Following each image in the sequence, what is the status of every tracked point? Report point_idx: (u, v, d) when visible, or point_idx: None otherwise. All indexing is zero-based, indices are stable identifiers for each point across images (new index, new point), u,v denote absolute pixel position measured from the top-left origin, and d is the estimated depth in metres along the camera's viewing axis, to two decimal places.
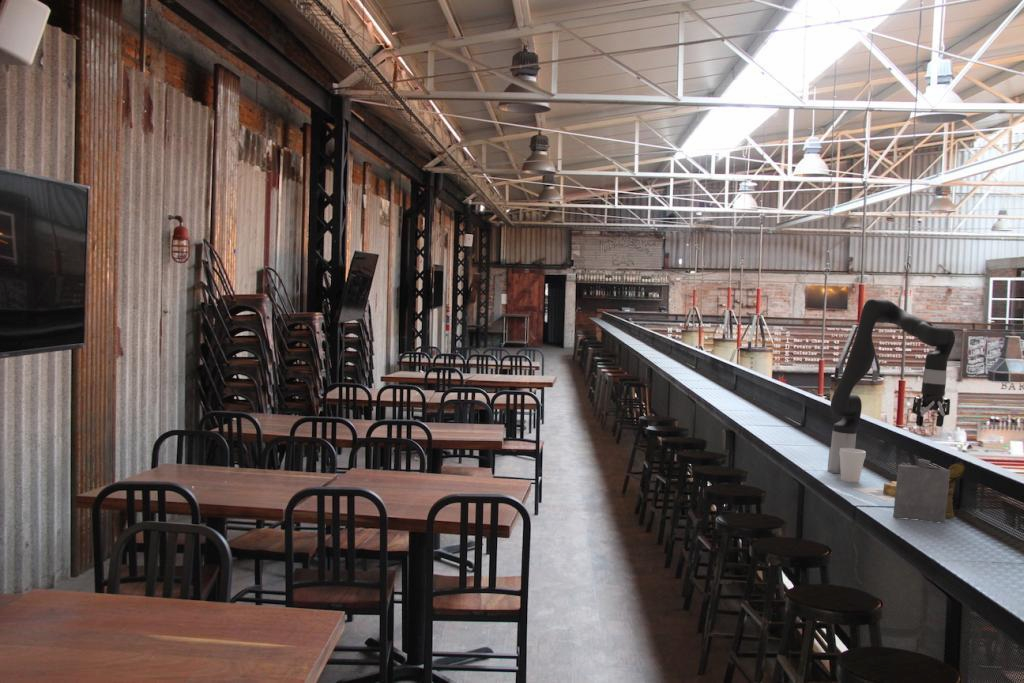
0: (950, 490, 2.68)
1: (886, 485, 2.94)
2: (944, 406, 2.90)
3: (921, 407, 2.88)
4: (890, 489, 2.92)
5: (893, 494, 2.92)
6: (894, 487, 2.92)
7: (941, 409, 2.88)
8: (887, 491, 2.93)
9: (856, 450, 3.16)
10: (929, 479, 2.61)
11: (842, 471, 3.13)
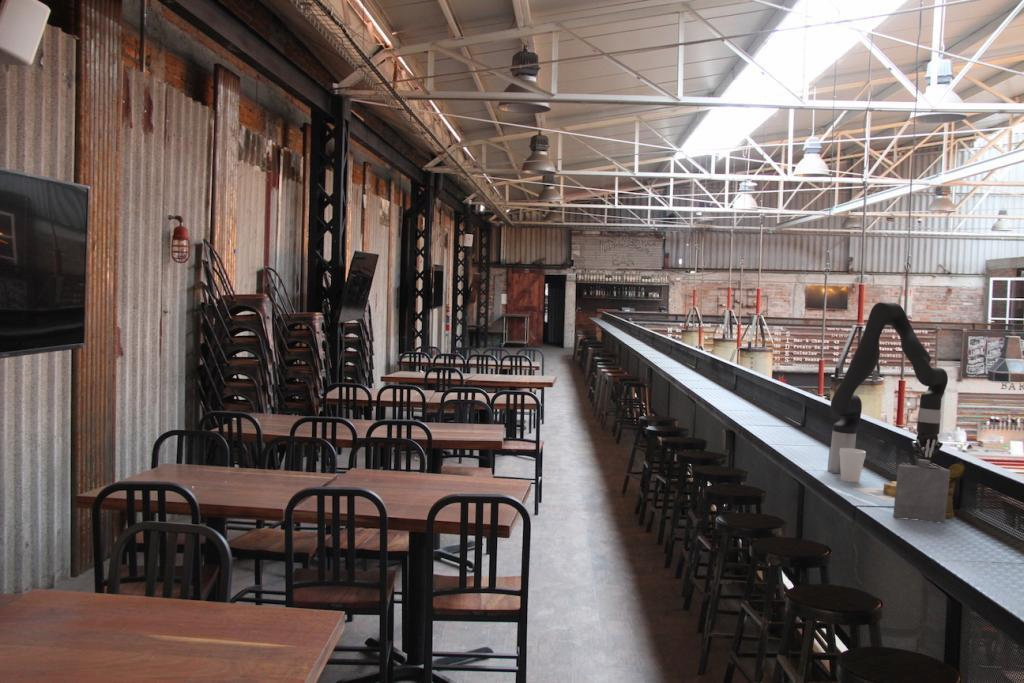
0: (950, 490, 2.68)
1: (886, 485, 2.94)
2: (934, 447, 2.97)
3: (921, 448, 2.96)
4: (890, 489, 2.92)
5: (893, 494, 2.92)
6: (894, 487, 2.92)
7: (931, 448, 2.95)
8: (887, 491, 2.93)
9: (856, 450, 3.16)
10: (929, 479, 2.61)
11: (842, 471, 3.13)
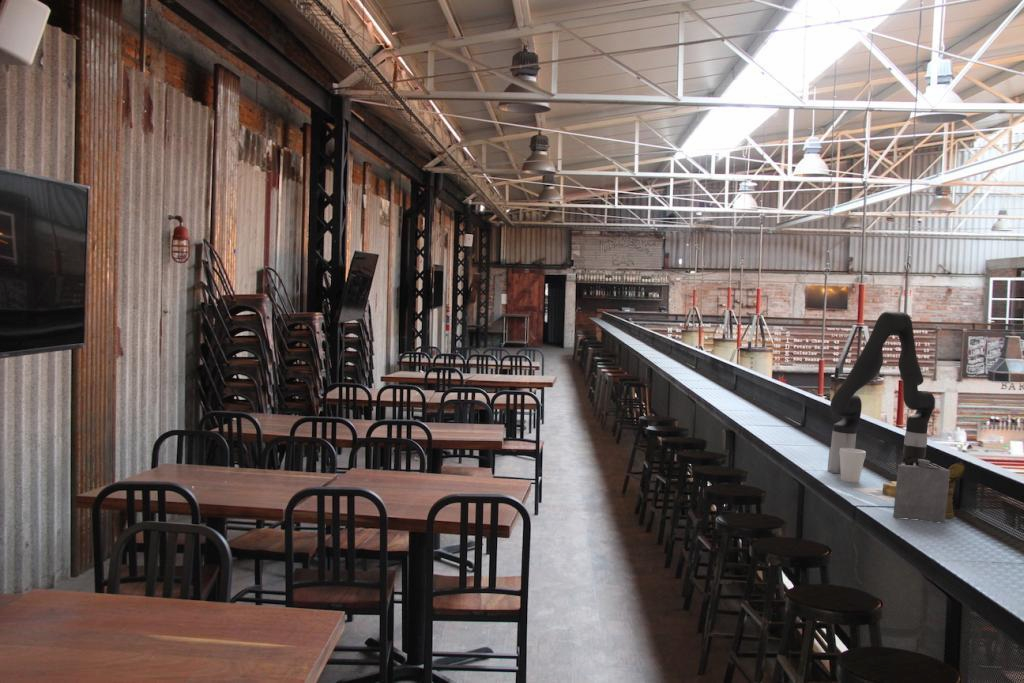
0: (950, 490, 2.68)
1: (885, 485, 2.94)
2: None
3: None
4: (889, 490, 2.92)
5: (892, 494, 2.91)
6: (893, 487, 2.91)
7: None
8: (886, 491, 2.93)
9: (856, 450, 3.16)
10: (929, 479, 2.61)
11: (842, 471, 3.13)
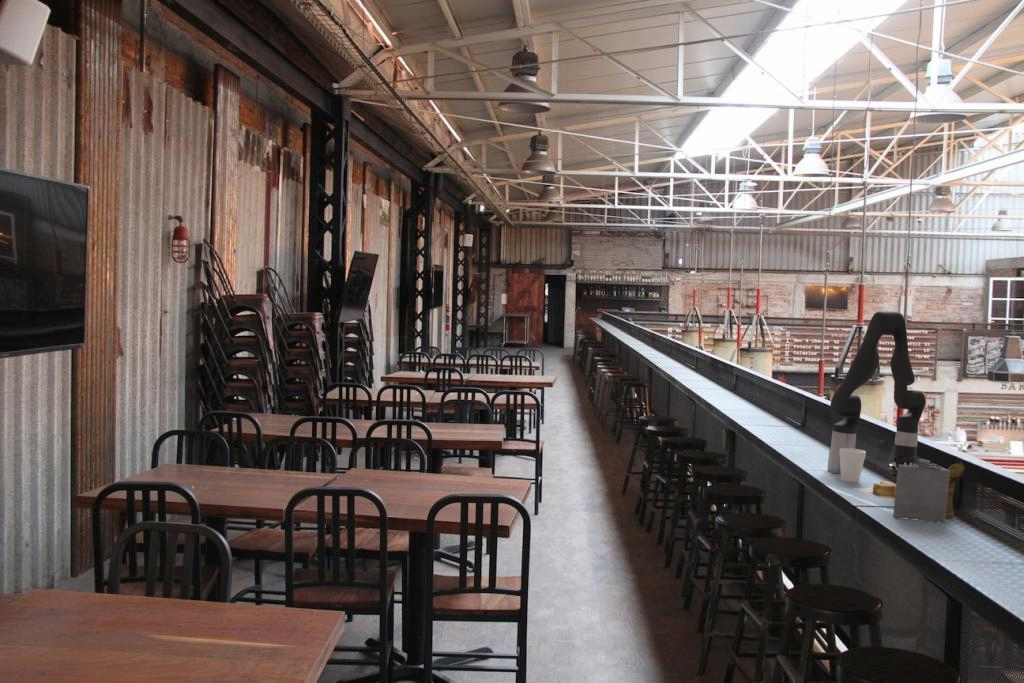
0: (950, 490, 2.68)
1: (876, 485, 2.93)
2: None
3: None
4: (880, 489, 2.90)
5: (883, 494, 2.90)
6: (884, 487, 2.90)
7: None
8: (876, 491, 2.92)
9: (856, 450, 3.16)
10: (929, 479, 2.61)
11: (842, 471, 3.13)
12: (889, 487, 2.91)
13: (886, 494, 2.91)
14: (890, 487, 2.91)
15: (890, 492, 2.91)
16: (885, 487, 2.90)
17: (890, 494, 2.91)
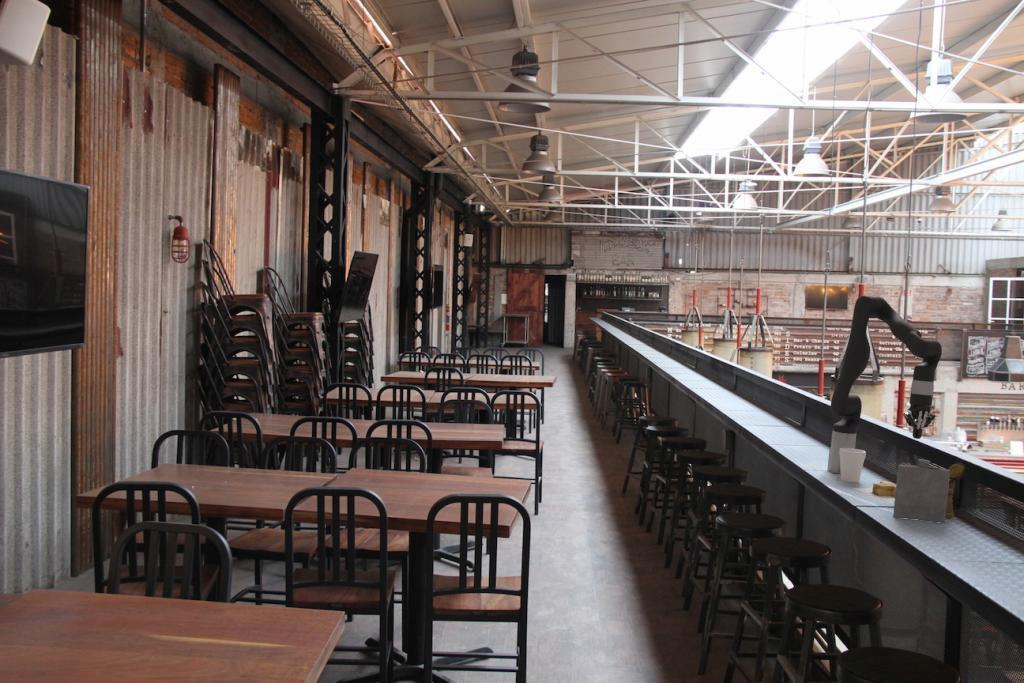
0: (950, 490, 2.68)
1: (875, 485, 2.93)
2: (926, 419, 2.98)
3: (913, 420, 2.97)
4: (879, 489, 2.90)
5: (882, 494, 2.90)
6: (883, 487, 2.90)
7: (924, 420, 2.95)
8: (876, 491, 2.92)
9: (856, 450, 3.16)
10: (929, 479, 2.61)
11: (842, 471, 3.13)
12: (889, 487, 2.91)
13: (886, 494, 2.91)
14: (890, 487, 2.91)
15: (889, 492, 2.91)
16: (885, 487, 2.90)
17: (890, 494, 2.91)
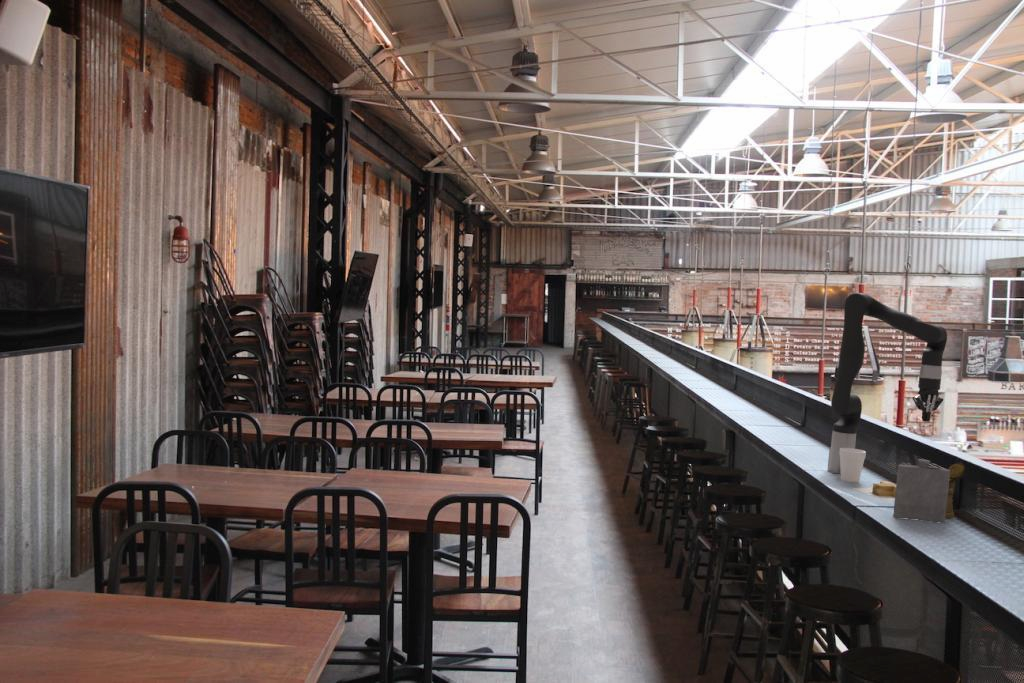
0: (950, 490, 2.68)
1: (875, 485, 2.93)
2: (935, 403, 3.08)
3: (922, 403, 3.07)
4: (879, 489, 2.90)
5: (882, 494, 2.90)
6: (883, 487, 2.90)
7: (932, 403, 3.06)
8: (876, 491, 2.92)
9: (856, 450, 3.16)
10: (929, 479, 2.61)
11: (842, 471, 3.13)
12: (889, 487, 2.91)
13: (886, 494, 2.91)
14: (890, 487, 2.91)
15: (889, 492, 2.91)
16: (885, 487, 2.90)
17: (890, 494, 2.91)
